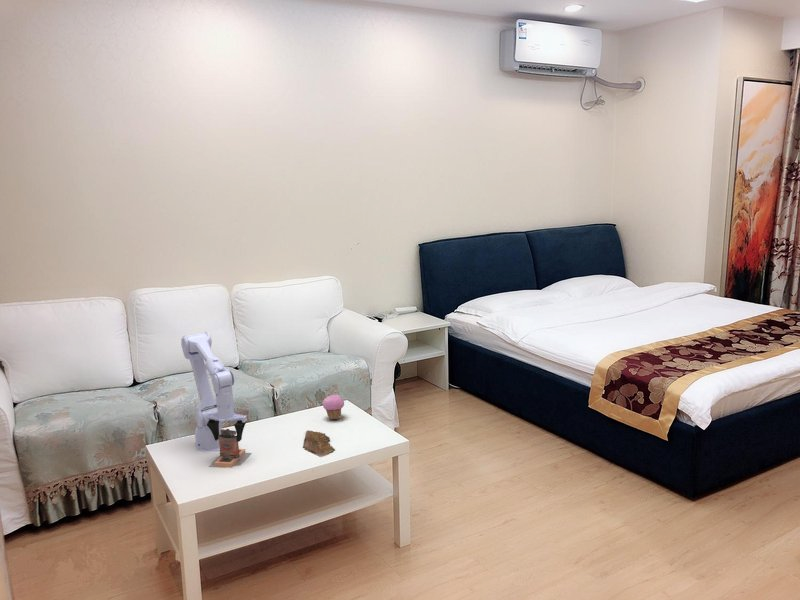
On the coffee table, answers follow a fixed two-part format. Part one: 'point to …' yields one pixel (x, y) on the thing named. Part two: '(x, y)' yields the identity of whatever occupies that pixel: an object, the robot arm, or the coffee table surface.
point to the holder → (230, 460)
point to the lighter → (228, 444)
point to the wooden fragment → (317, 443)
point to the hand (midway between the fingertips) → (228, 439)
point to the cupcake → (333, 406)
